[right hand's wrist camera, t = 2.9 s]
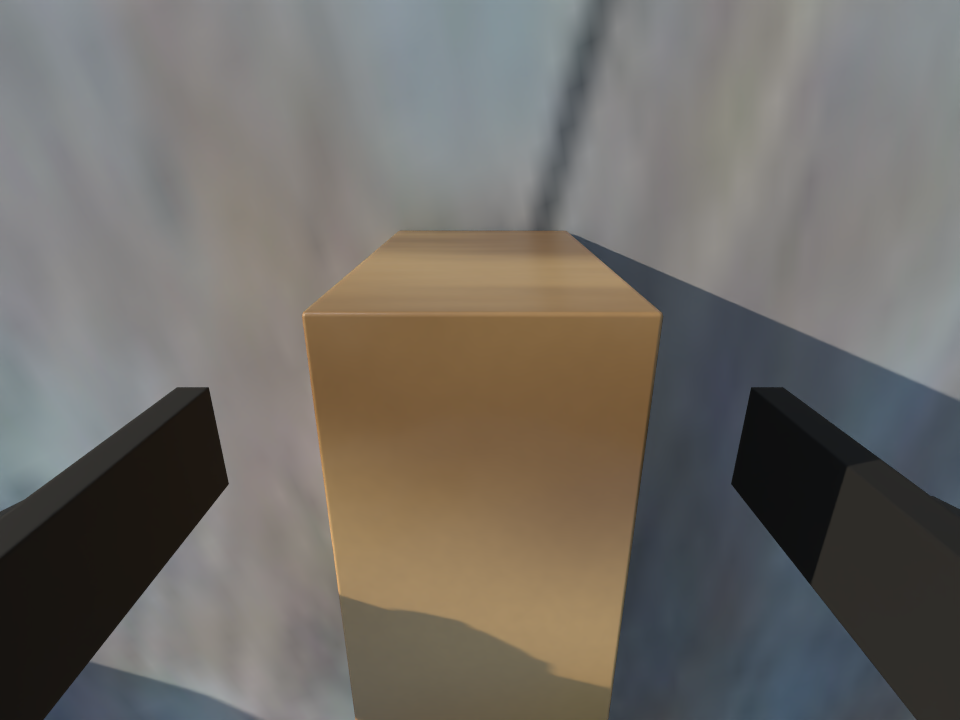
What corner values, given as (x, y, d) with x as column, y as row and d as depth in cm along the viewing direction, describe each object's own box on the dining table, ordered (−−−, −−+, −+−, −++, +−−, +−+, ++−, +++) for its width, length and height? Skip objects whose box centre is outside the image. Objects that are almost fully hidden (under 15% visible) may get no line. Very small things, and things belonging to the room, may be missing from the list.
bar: (398, 230, 14) (299, 312, 7) (567, 230, 14) (665, 313, 7) (430, 800, 24) (405, 1105, 16) (532, 800, 24) (556, 1106, 16)
